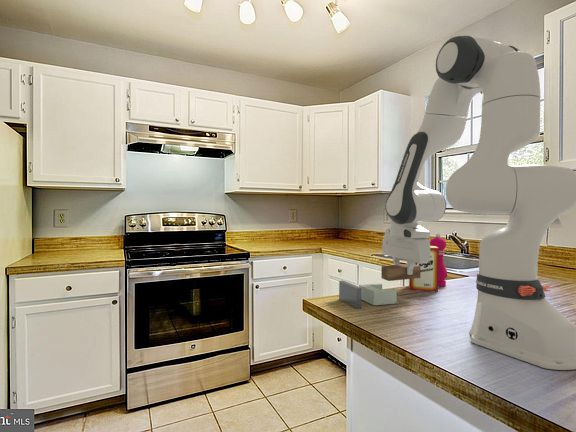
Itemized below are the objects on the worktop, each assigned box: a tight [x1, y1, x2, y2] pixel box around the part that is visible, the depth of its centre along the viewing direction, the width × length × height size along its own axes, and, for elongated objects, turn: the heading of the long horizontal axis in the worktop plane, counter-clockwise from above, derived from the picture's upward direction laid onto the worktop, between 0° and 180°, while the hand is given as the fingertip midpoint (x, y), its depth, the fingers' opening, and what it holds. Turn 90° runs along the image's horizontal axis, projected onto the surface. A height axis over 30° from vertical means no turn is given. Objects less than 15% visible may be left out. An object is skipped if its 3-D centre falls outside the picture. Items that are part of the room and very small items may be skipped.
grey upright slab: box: [338, 280, 362, 310], centre depth 105 cm, size 11×2×6 cm, turn 19°
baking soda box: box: [408, 246, 439, 293], centre depth 126 cm, size 10×6×16 cm
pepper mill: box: [429, 233, 448, 287], centre depth 133 cm, size 7×7×20 cm
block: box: [358, 283, 398, 306], centre depth 109 cm, size 9×8×4 cm
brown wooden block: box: [380, 263, 420, 282], centre depth 112 cm, size 4×12×4 cm, turn 108°
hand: (403, 272), depth 112 cm, fingers closed on brown wooden block, 4 cm apart
